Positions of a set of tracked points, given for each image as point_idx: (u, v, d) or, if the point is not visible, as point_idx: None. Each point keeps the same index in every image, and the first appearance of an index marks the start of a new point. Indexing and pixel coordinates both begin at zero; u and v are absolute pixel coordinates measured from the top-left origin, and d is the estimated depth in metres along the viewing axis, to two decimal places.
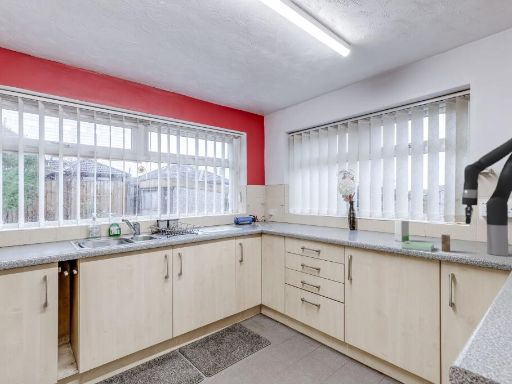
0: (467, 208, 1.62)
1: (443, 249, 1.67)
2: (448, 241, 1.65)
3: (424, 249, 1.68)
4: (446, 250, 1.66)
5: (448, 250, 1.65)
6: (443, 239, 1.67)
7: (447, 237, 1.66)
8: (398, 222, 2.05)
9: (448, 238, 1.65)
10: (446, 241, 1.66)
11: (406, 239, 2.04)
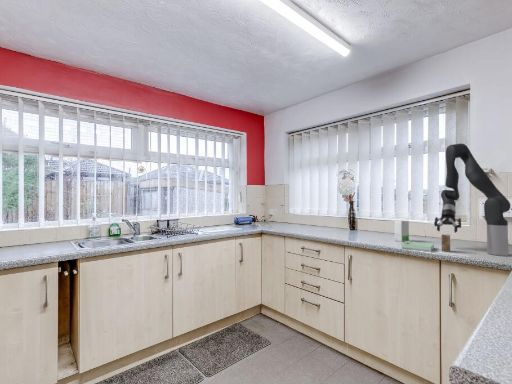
0: None
1: (443, 249, 1.67)
2: (448, 241, 1.65)
3: (424, 249, 1.68)
4: (446, 250, 1.66)
5: (448, 250, 1.65)
6: (443, 239, 1.67)
7: (447, 237, 1.66)
8: (398, 222, 2.05)
9: (448, 238, 1.65)
10: (446, 241, 1.66)
11: (406, 239, 2.04)
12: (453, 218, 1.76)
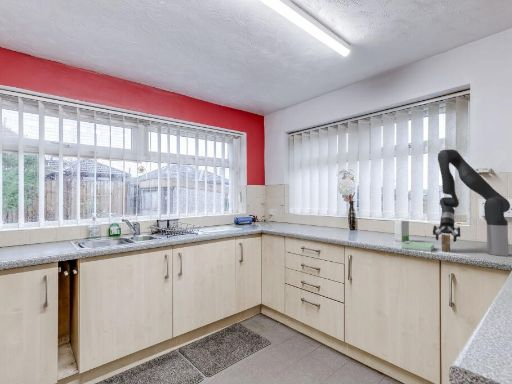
0: None
1: (443, 249, 1.67)
2: (448, 241, 1.65)
3: (424, 249, 1.68)
4: (446, 250, 1.66)
5: (448, 250, 1.65)
6: (443, 239, 1.67)
7: (447, 237, 1.66)
8: (398, 222, 2.05)
9: (448, 238, 1.65)
10: (446, 241, 1.66)
11: (406, 239, 2.04)
12: (452, 227, 1.71)
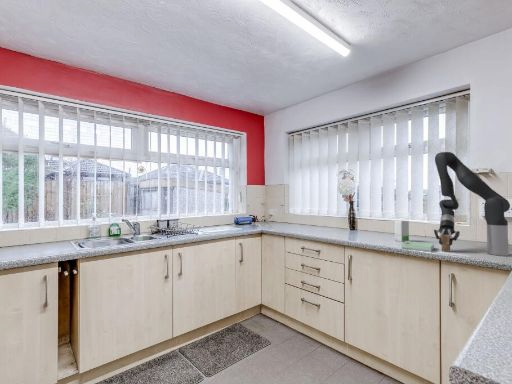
0: (434, 232, 1.76)
1: (443, 249, 1.67)
2: (448, 241, 1.65)
3: (424, 249, 1.68)
4: (446, 250, 1.66)
5: (448, 250, 1.65)
6: (443, 239, 1.67)
7: (447, 237, 1.66)
8: (398, 222, 2.05)
9: (448, 238, 1.65)
10: (446, 241, 1.66)
11: (406, 239, 2.04)
12: (452, 229, 1.70)
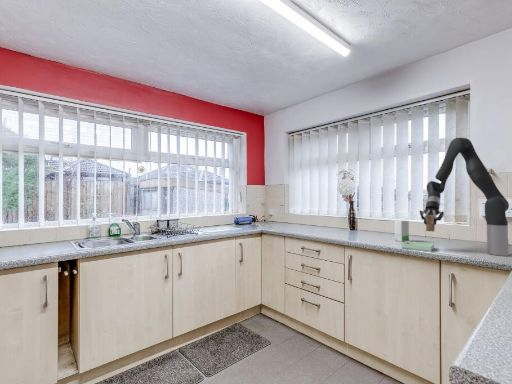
0: (420, 213, 1.81)
1: (427, 229, 1.72)
2: (432, 221, 1.71)
3: (424, 249, 1.68)
4: (431, 229, 1.71)
5: (432, 229, 1.71)
6: (427, 219, 1.72)
7: (431, 217, 1.71)
8: (398, 222, 2.05)
9: (432, 218, 1.71)
10: (430, 221, 1.71)
11: (406, 239, 2.04)
12: (437, 210, 1.75)
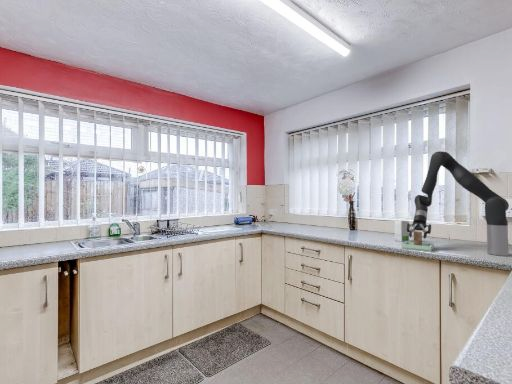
0: None
1: None
2: (419, 237, 1.75)
3: (424, 249, 1.68)
4: None
5: None
6: (415, 235, 1.76)
7: (418, 234, 1.75)
8: (398, 222, 2.05)
9: (419, 234, 1.75)
10: (418, 237, 1.75)
11: (406, 239, 2.04)
12: (424, 224, 1.79)
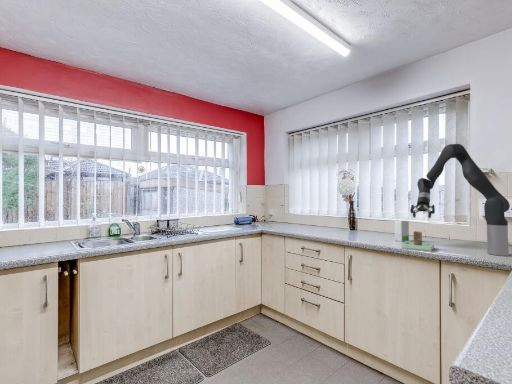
0: None
1: None
2: (419, 237, 1.75)
3: (424, 249, 1.68)
4: None
5: None
6: (415, 235, 1.76)
7: (418, 234, 1.75)
8: (398, 222, 2.05)
9: (419, 234, 1.75)
10: (418, 237, 1.75)
11: (406, 239, 2.04)
12: (427, 205, 1.88)
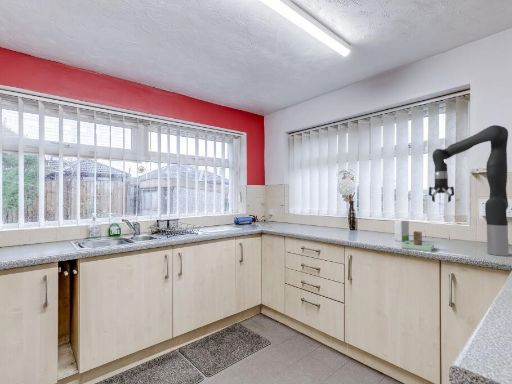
0: None
1: None
2: (419, 237, 1.75)
3: (424, 249, 1.68)
4: None
5: None
6: (415, 235, 1.76)
7: (418, 234, 1.75)
8: (398, 222, 2.05)
9: (419, 234, 1.75)
10: (418, 237, 1.75)
11: (406, 239, 2.04)
12: (446, 187, 1.83)
